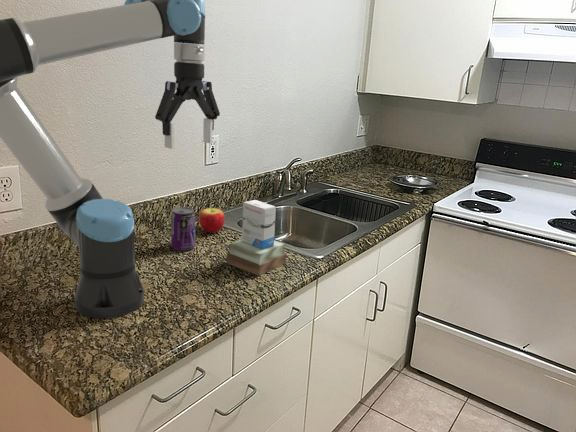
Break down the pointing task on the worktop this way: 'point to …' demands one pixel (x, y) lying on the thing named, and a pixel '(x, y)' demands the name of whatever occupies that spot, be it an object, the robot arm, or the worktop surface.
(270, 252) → the pedestal
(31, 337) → the worktop surface
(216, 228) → the apple
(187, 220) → the beverage can
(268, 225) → the ink box
